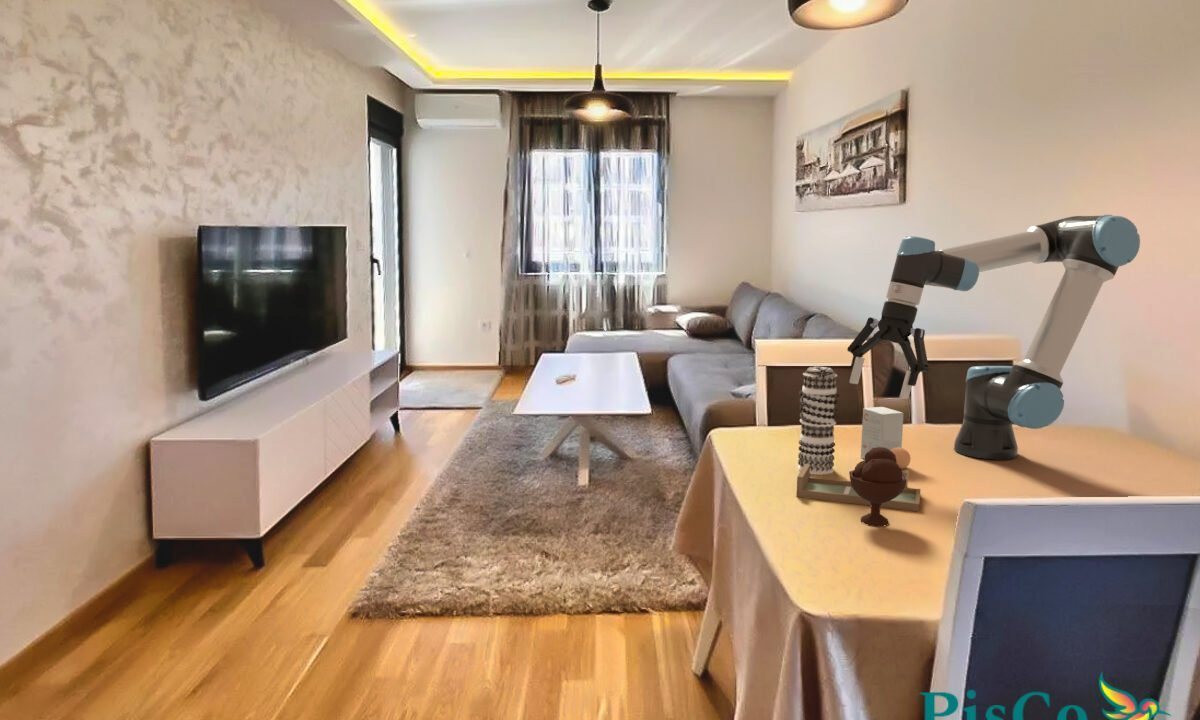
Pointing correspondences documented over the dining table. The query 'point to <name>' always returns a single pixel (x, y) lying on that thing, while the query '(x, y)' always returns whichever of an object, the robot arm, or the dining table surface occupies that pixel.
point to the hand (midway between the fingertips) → (877, 391)
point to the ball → (901, 457)
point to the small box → (881, 429)
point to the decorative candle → (818, 420)
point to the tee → (905, 474)
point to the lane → (849, 492)
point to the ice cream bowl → (877, 482)
